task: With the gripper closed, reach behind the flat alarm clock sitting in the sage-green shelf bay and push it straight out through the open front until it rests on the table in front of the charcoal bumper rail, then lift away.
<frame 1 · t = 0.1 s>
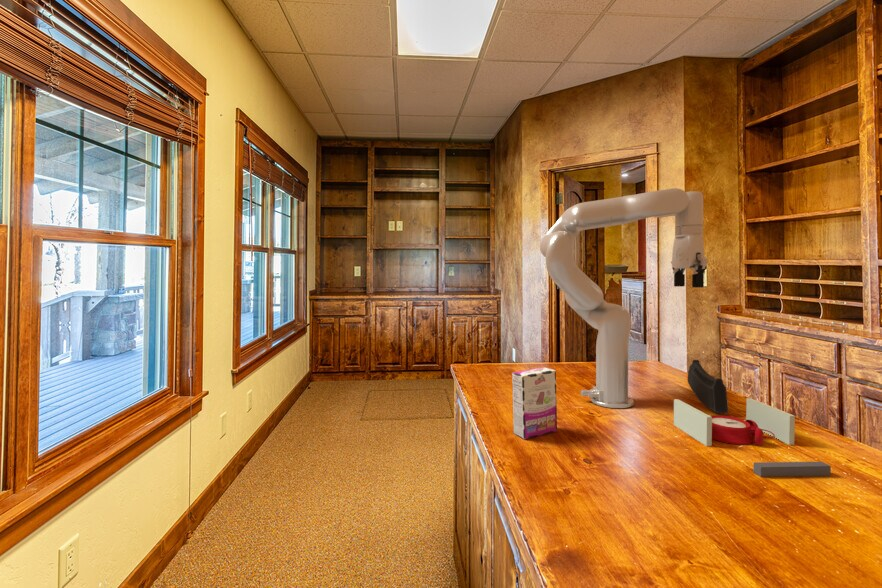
hand: (688, 286, 131), 37 cm above the counter, tool pointing down, fingers open, 9 cm apart
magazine: (705, 402, 132), on the counter
shelf bay: (729, 434, 106), on the counter
alarm clock: (735, 439, 103), on the counter
candy bar box: (534, 433, 109), on the counter
bumper rail: (791, 473, 85), on the counter
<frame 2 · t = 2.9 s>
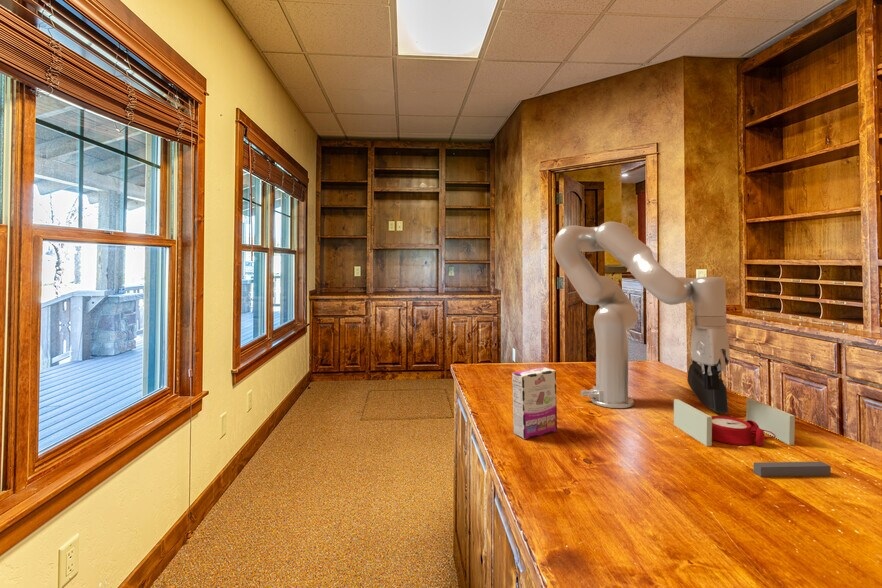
hand: (711, 388, 113), 9 cm above the counter, tool pointing down, fingers closed
nothing on the counter moved.
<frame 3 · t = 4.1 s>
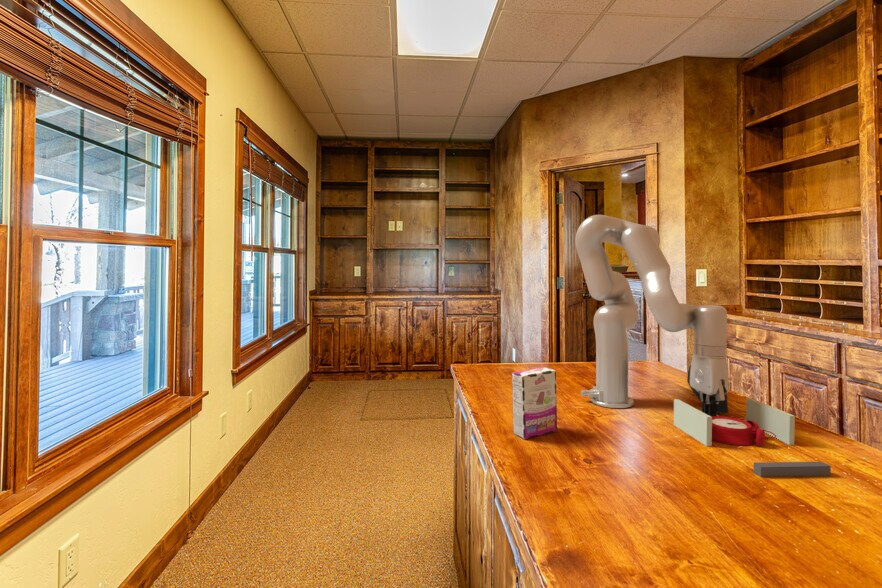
hand: (709, 416, 114), 2 cm above the counter, tool pointing down, fingers closed
nothing on the counter moved.
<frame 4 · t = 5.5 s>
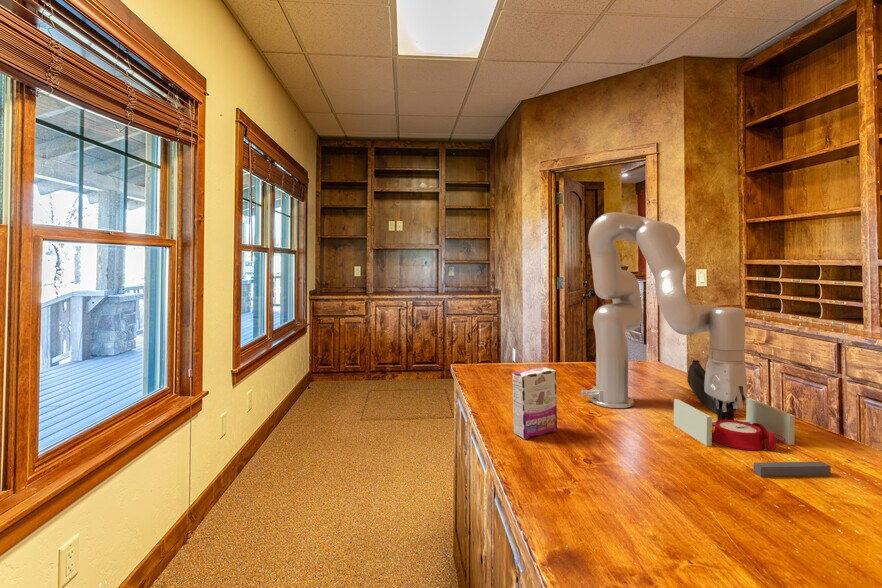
hand: (725, 425, 107), 2 cm above the counter, tool pointing down, fingers closed
alarm clock: (745, 444, 100), on the counter
everything else where it was.
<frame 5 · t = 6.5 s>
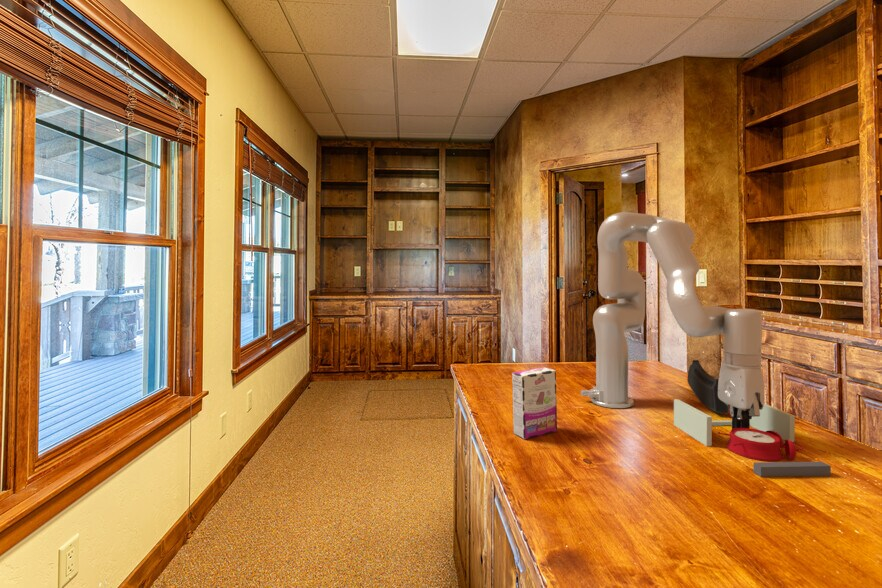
hand: (740, 433, 102), 2 cm above the counter, tool pointing down, fingers closed
alarm clock: (762, 453, 95), on the counter
everything else where it was.
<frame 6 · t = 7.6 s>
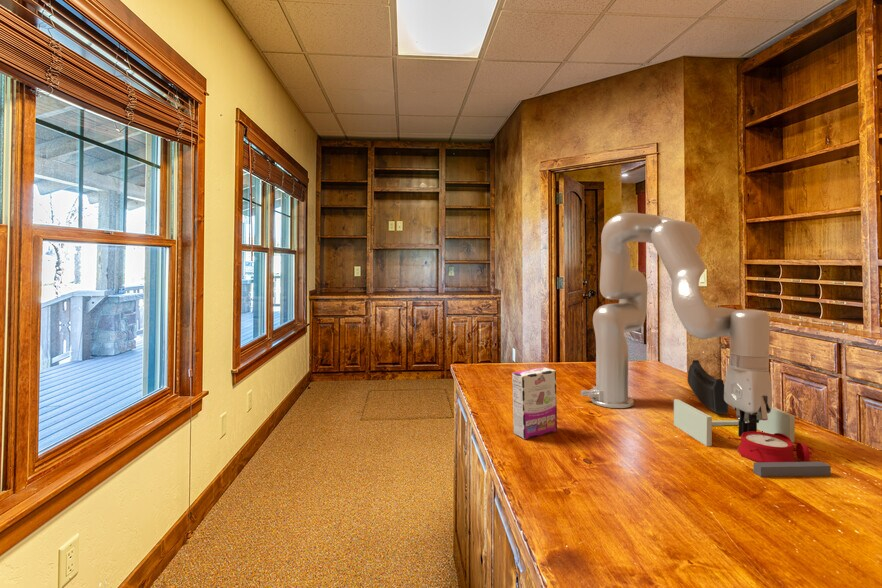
hand: (747, 437, 99), 2 cm above the counter, tool pointing down, fingers closed
alarm clock: (773, 457, 93), on the counter
everything else where it was.
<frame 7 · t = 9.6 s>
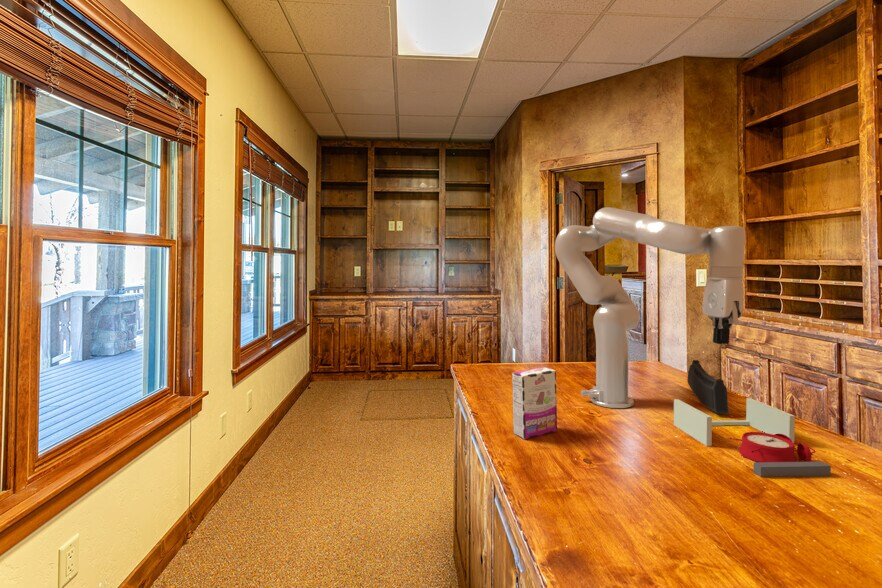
hand: (720, 343, 110), 22 cm above the counter, tool pointing down, fingers closed
nothing on the counter moved.
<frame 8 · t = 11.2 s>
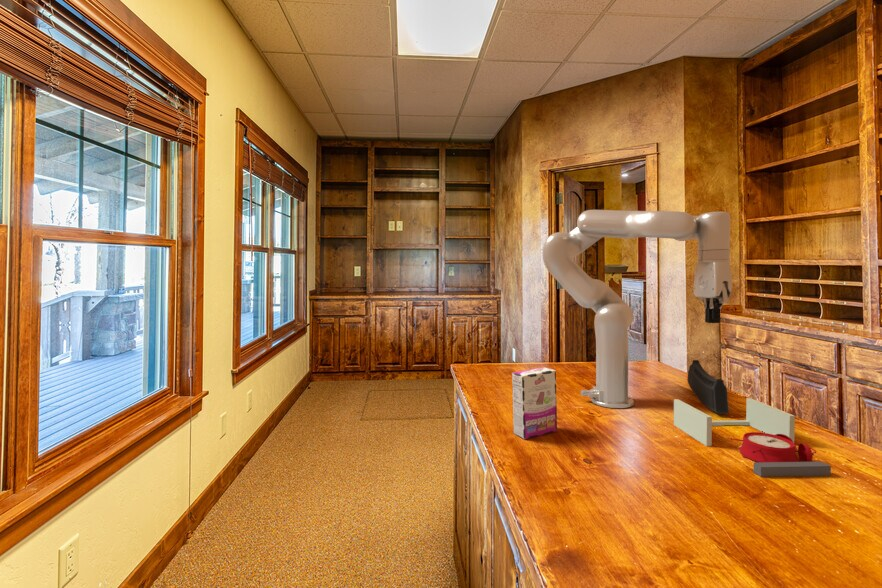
hand: (712, 322, 116), 27 cm above the counter, tool pointing down, fingers closed
nothing on the counter moved.
at the end: alarm clock inside the target area (1.8 cm from its centre), on the counter; alarm clock moved 11.2 cm from its start; alarm clock on the counter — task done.
